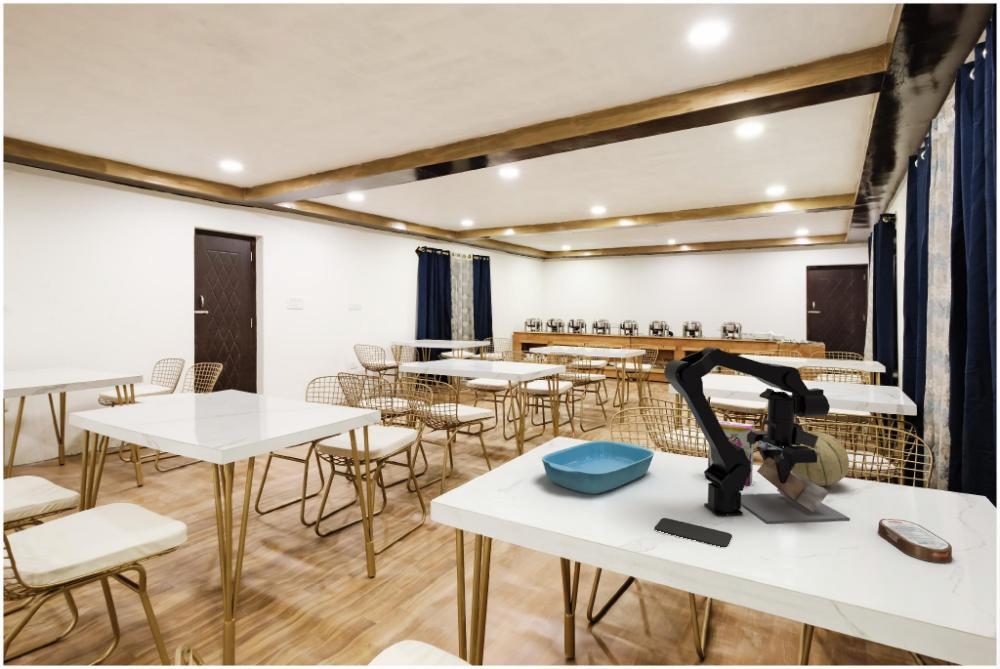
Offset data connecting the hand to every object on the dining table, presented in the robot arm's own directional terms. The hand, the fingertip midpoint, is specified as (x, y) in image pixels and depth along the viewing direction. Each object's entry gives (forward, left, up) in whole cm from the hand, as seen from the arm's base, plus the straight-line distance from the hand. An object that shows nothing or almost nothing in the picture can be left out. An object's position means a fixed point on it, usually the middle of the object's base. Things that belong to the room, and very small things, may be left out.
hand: (778, 480), depth 124 cm
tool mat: (+2, 0, -7) cm, 7 cm away
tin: (+12, -20, -5) cm, 23 cm away
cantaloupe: (+21, +15, -7) cm, 27 cm away
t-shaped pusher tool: (-1, 0, -1) cm, 1 cm away
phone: (-27, -11, -8) cm, 30 cm away
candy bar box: (-1, +20, -7) cm, 21 cm away
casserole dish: (-37, +26, -7) cm, 46 cm away
